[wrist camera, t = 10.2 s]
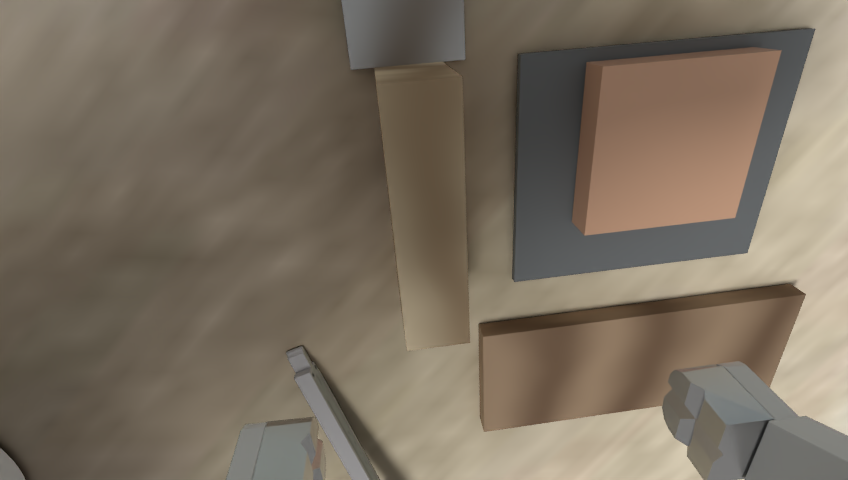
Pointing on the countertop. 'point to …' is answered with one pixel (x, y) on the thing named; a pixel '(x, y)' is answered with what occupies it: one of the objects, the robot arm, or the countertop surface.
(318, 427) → the robot arm
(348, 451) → the caliper
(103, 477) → the countertop surface
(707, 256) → the mat
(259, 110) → the countertop surface
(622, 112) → the tile
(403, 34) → the scraper
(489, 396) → the board
